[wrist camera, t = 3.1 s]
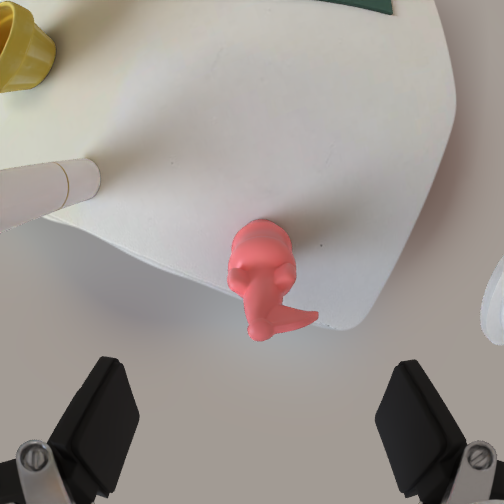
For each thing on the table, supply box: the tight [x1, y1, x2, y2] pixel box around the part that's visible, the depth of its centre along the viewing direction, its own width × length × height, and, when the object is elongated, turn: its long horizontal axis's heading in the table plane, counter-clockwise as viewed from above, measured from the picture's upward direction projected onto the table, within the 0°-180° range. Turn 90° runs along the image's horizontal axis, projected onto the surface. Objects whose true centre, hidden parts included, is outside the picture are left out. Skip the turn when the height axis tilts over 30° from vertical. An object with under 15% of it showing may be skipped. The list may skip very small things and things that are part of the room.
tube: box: [0, 158, 101, 234], centre depth 18 cm, size 4×4×15 cm
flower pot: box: [0, 1, 56, 93], centre depth 16 cm, size 10×10×10 cm
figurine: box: [227, 219, 318, 341], centre depth 20 cm, size 5×5×15 cm
